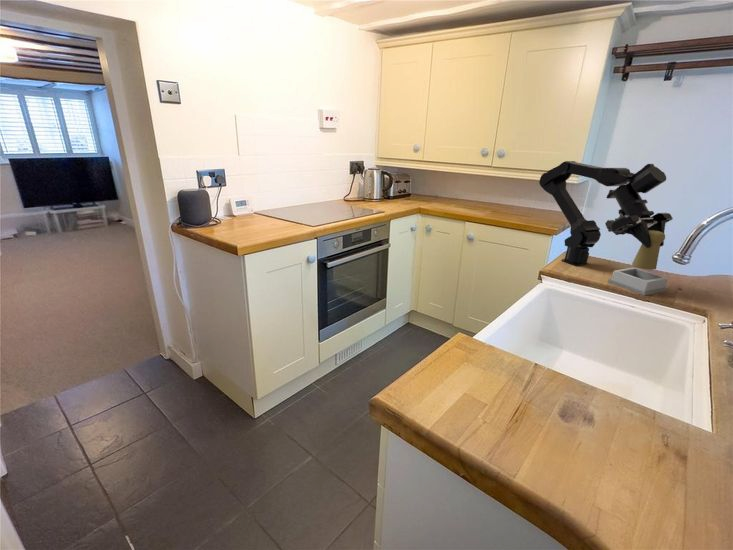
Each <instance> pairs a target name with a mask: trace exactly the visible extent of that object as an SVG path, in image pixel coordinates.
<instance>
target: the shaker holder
mask: <svg viewBox="0 0 733 550" xmlns="http://www.w3.org/2000/svg"><path fill="white" fill-rule="evenodd" d="M668 280H669V277H666V276H663V275H661V274H658V273H654V272H650V271H648V270H645V269H642V268H638V267H635V266H634V267H628V268H622V269H616V270H613V273H612V276H611V278H608V280H607V282H608V283H609V282H610V283H609V284H612V285H614V284H615V285H614V286H617V287H620V288H622V287H623V288H622V289H625V288H626V289H625V290H629V291H630V290H631V291H630V292H634V293H637V294H639V295H641V296H649V295H653V294H657V293H658V294H659V293H662V292H667V291H668V289H669V287H667V283H668Z"/></svg>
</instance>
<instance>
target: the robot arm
mask: <svg viewBox="0 0 733 550" xmlns="http://www.w3.org/2000/svg"><path fill="white" fill-rule="evenodd" d="M572 175H576V176H581V177H585V178H590V179H592V180H595V181H596V182H597V183H598V184H601V185H603V186H605V187H617V188H615V189H609V190H608V193H607V195H606V199H615V201H616V202H617V204H618V205H619V208H620V209H619V210H617V211H618V215H619V216H618V217H617V218H616V217H615V219H607V220H606V222H605V228H606V229H607V231H608V232H610V233H613V234H615V236H619V235H622V236H624V235H626V234H627V235H631V236H632V237H634V238H635V239H636V240H637V241H639V242H640V243H641V245H642V244H643V245H644V246H645V247H647V248H649V247H651V240H650V235H649V231H648V230H655V231H660V232H663V233H664V234H665V229H666V224H667V223H668V222H671V221H672V220H673V216H672V215H671V213H669V212H657V213H656V214H655V212H654V211H653V210H649V209H648V207H647V205H646V204H648V202H649V201H648V200H647V199H642V196H641V195H640V194H641V193H642V194H647V193H649V192H650V191H652V190H653V189H655V188H656V187H658V186H660V185H662V184H663V183H665V182H666V181H667V175H666V173H665V172H664V171H662V170H661V169H660V168H658V167H657V166H655V164H654V163H646V164H645V165H644V166H643V167H642V168H641V169H640V170H638V171H637V172H635V173H634V172H631V171H630V169H629V168H627V167H601V166H597V165H596V166H595V165H591V164H586V163H582V162H577V161H575V160H570V161H569V160H565V161H563V162H561V163H560V164H559V165H558V166H555V167H553V168H551V169H549V170H547V171H546V172H544V173H542V174H541V175H540V178H539V182H538V183H539V184H538V185H540V187H541V188H542V189H543V190H544V192H545V193H548V194H549V195H551V196H552V197H553V199H554V201H555V202H556V203H557V205H558V208H559V209H560V210H561V212H562V214H563V215H564V217H565V219H566V220H567V222H568V224H569V226H570V229H569V230H570V232H569V233H570V236H568V237H567V238H565V239H564V246H565V247H567V249H566V252H565V256H564V258H562V259H561V261H562V262H564V263H566V264H567V263H568V264H570V265H571V266H572V265H573V266H576V267H577V266H579V267H580V266H586V265H589V261H588V259H589V257H590V252H589V251H590V248H593V247H594V246H595V245H596V244H597V243H598V242H599V241H600V238H601V236H602V235H601V231H600V230H601V228H600V227H598V225H597V223H596V221H595V220H594V219H593V220H587V219H586V218H585V217H584V215H583V214H582V212H581V211H580V209H579V207H578V205H577V203H576V202H575V201H574V200H573V197H571V195H570V193H569V192H568V190H567V180H569V179H570V178H571V176H572ZM664 244H665V240H664V241H663V242H662V243H661V244H660V248H661V247H663V246H664Z"/></svg>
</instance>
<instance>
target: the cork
mask: <svg viewBox="0 0 733 550" xmlns="http://www.w3.org/2000/svg"><path fill="white" fill-rule="evenodd" d="M648 231H649V235H650V240H651V247H649V248H647V247H645V246H644V245H643V244H642V243H641V245H640V247H639V249H638V251H637V252H636V255H635V257H634V259H633V261H632V263H631V266H634V267H635V268H638V269H641V270H647V271H648V270H650V271H652V270H656V269H657V265H658V261H659V253H660V250H661V249H660V248H661V247H660V244H661V243H662V242H663V241H664V242H665V240H666V234H665V232H664V233H663V232H660V231H655V230H648Z"/></svg>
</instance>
